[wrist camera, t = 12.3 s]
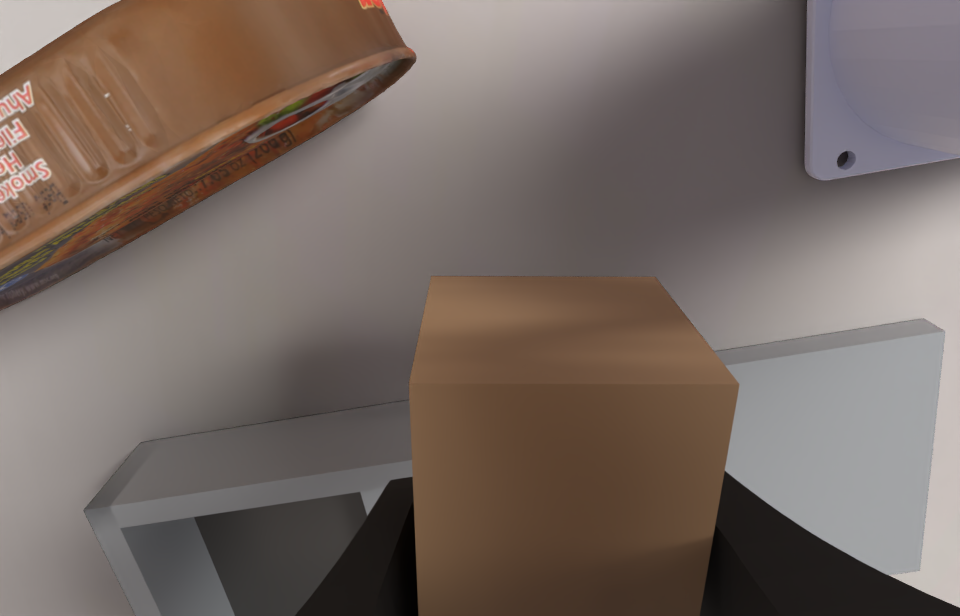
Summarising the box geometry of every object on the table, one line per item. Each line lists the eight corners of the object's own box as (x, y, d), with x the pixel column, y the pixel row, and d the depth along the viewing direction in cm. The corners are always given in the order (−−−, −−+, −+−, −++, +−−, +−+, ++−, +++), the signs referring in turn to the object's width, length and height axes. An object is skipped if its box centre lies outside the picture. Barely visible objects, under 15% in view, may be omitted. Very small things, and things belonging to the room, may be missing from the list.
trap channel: (924, 318, 21) (1009, 368, 17) (902, 550, 24) (969, 628, 21) (140, 442, 22) (83, 510, 19) (228, 645, 25) (193, 732, 22)
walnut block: (655, 277, 12) (739, 384, 8) (630, 505, 13) (688, 679, 10) (431, 276, 11) (408, 383, 8) (437, 504, 13) (420, 679, 10)
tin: (16, 307, 20) (-271, 469, 12) (-59, 220, 19) (-425, 337, 11) (434, 67, 18) (406, 80, 10) (375, -47, 17) (290, -134, 9)
